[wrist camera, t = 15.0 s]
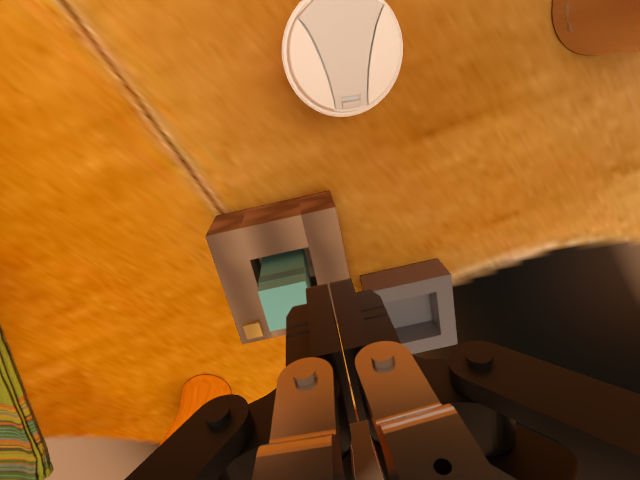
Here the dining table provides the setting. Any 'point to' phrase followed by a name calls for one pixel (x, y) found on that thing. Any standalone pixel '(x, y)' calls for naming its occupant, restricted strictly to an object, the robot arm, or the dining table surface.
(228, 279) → the port
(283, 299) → the plug
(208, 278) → the dining table surface
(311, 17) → the paper cup
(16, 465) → the dish towel
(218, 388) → the beer glass
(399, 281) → the grey square frame
